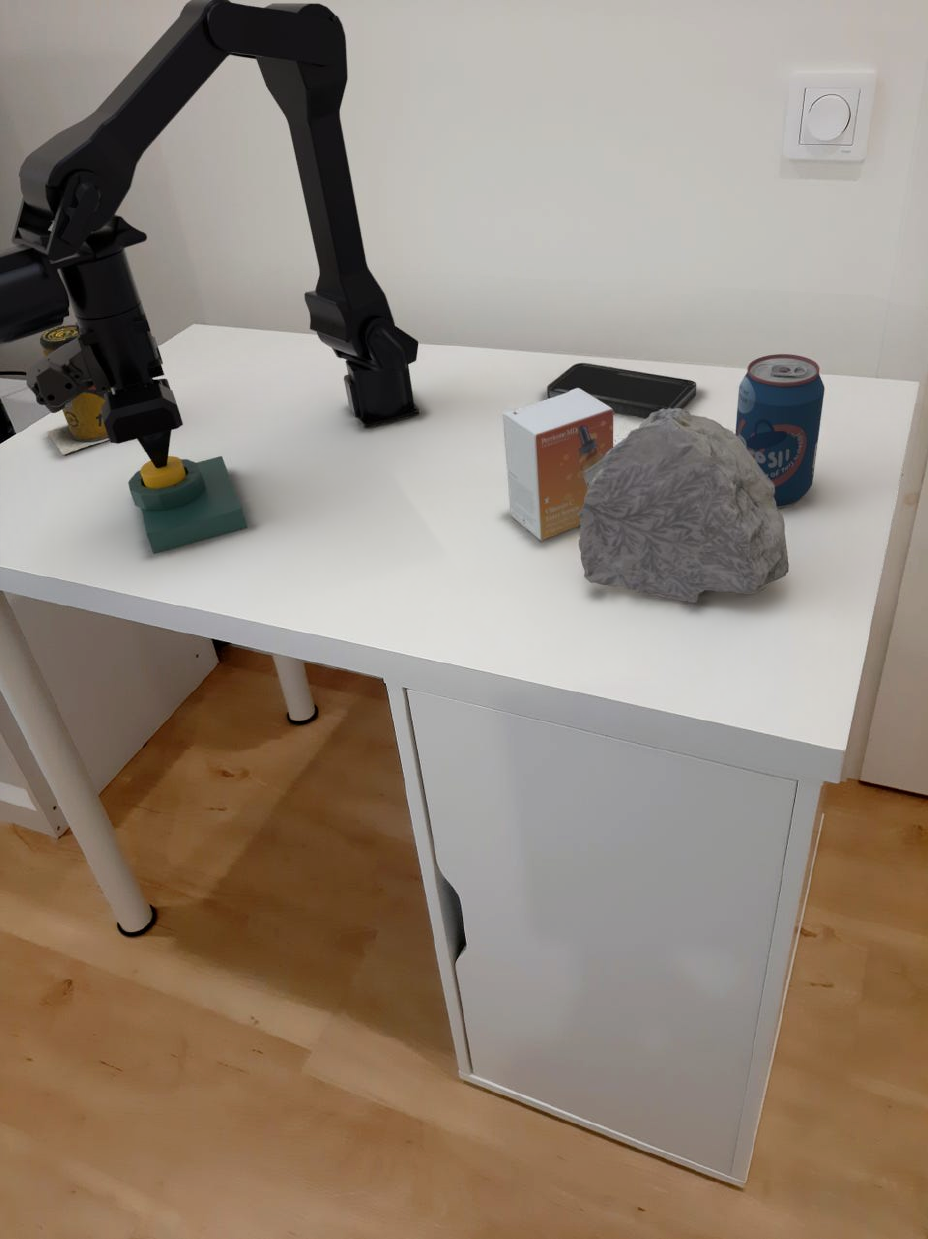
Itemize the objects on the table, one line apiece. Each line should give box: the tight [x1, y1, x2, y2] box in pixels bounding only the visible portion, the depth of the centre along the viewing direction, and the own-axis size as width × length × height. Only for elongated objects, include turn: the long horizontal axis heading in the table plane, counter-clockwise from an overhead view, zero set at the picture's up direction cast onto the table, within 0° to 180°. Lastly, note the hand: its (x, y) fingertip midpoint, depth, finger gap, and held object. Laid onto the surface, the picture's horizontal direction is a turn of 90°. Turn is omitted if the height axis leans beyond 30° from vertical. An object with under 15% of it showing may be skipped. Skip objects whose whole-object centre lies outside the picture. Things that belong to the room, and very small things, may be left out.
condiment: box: [39, 323, 112, 456], centre depth 110 cm, size 7×8×12 cm
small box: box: [502, 388, 614, 541], centre depth 86 cm, size 8×6×10 cm
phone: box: [546, 362, 697, 419], centre depth 107 cm, size 8×1×15 cm
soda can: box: [734, 353, 825, 509], centre depth 85 cm, size 7×7×12 cm
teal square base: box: [127, 455, 248, 555], centre depth 95 cm, size 10×12×4 cm
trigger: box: [139, 455, 186, 489], centre depth 94 cm, size 4×4×2 cm
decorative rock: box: [578, 408, 790, 604], centre depth 75 cm, size 16×7×15 cm, turn 68°
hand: (161, 465), depth 94 cm, fingers closed, pressing on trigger
